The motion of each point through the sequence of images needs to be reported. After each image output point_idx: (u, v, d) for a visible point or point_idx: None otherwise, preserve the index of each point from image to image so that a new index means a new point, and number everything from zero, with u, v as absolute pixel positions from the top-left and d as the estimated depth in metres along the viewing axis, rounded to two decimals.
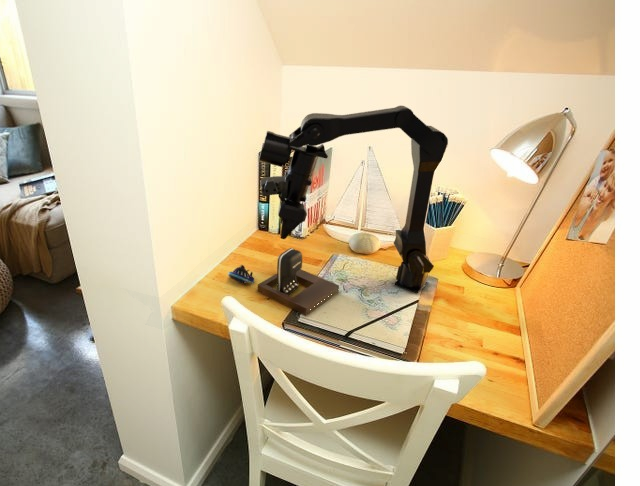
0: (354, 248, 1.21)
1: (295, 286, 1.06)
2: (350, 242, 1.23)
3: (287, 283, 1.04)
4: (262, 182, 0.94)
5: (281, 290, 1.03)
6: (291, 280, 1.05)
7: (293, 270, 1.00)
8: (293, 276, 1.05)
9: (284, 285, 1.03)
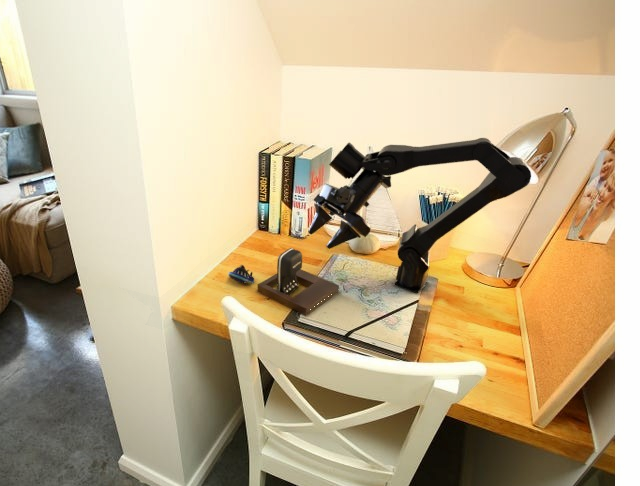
0: (354, 248, 1.21)
1: (295, 286, 1.06)
2: (350, 242, 1.23)
3: (287, 283, 1.04)
4: (333, 187, 0.93)
5: (281, 290, 1.03)
6: (291, 280, 1.05)
7: (293, 270, 1.00)
8: (293, 276, 1.05)
9: (284, 285, 1.03)
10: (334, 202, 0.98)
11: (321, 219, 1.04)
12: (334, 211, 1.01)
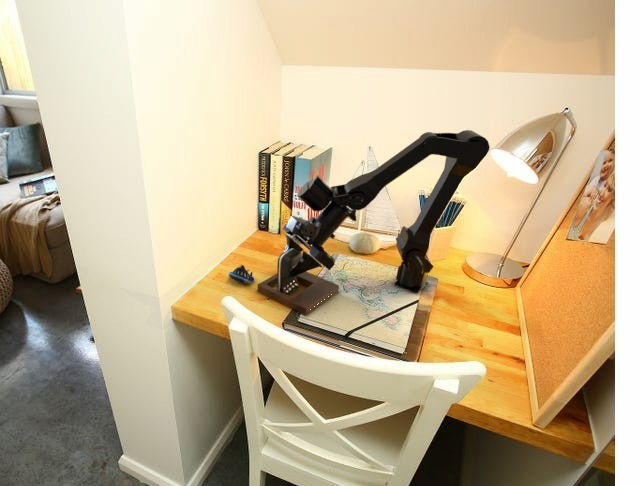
0: (354, 248, 1.21)
1: (295, 286, 1.06)
2: (350, 242, 1.23)
3: (287, 283, 1.04)
4: (298, 220, 0.94)
5: (281, 290, 1.03)
6: (291, 280, 1.05)
7: None
8: None
9: (284, 285, 1.03)
10: None
11: None
12: (301, 241, 1.02)
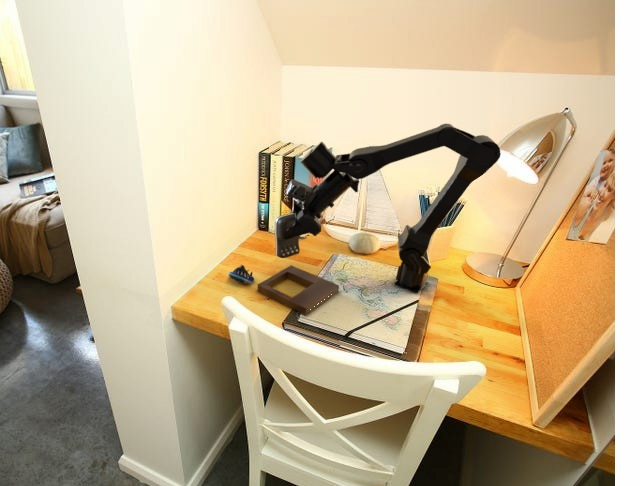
0: (354, 248, 1.21)
1: (295, 252, 1.08)
2: (350, 242, 1.23)
3: (286, 247, 1.07)
4: (293, 183, 0.97)
5: (278, 252, 1.07)
6: (291, 245, 1.08)
7: None
8: (294, 241, 1.08)
9: (281, 248, 1.07)
10: None
11: None
12: None
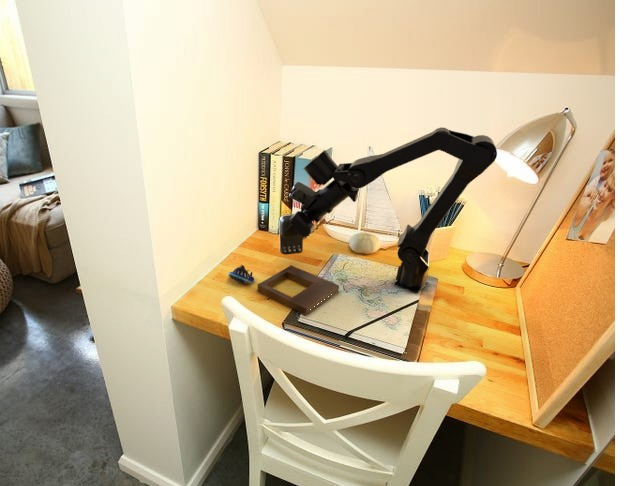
0: (354, 248, 1.21)
1: (297, 251, 1.15)
2: (350, 242, 1.23)
3: (288, 244, 1.14)
4: (295, 186, 1.04)
5: (280, 248, 1.15)
6: (295, 244, 1.15)
7: None
8: (298, 241, 1.14)
9: (284, 244, 1.14)
10: None
11: None
12: None
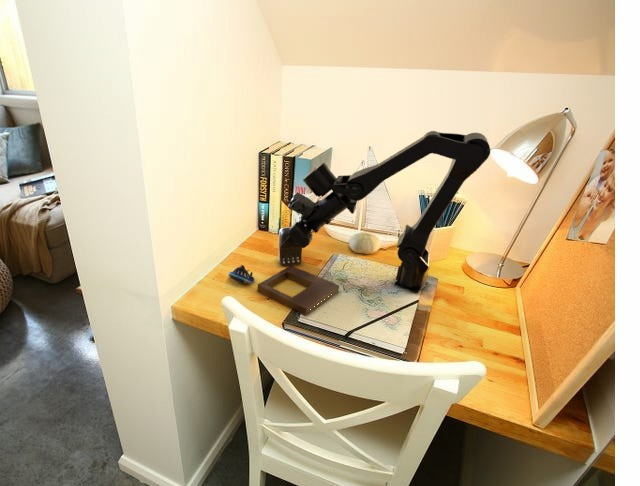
0: (354, 248, 1.21)
1: (296, 262, 1.17)
2: (350, 242, 1.23)
3: (288, 256, 1.16)
4: (294, 197, 1.05)
5: (279, 259, 1.17)
6: (294, 255, 1.17)
7: None
8: (297, 253, 1.16)
9: (283, 256, 1.16)
10: None
11: None
12: None
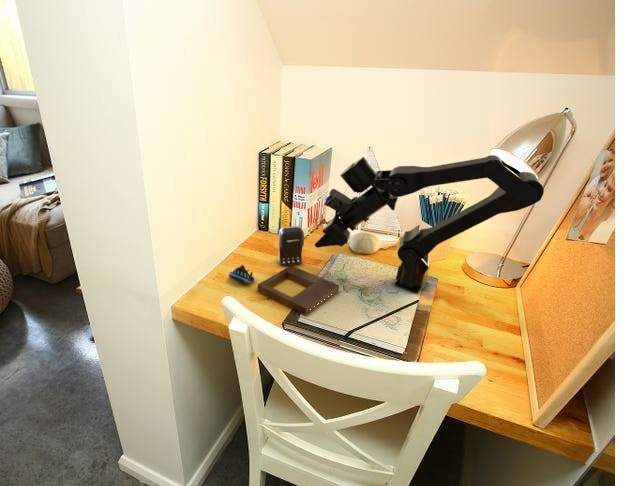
0: (354, 248, 1.21)
1: (296, 262, 1.17)
2: (350, 242, 1.23)
3: (288, 256, 1.16)
4: (331, 193, 1.01)
5: (279, 259, 1.17)
6: (294, 255, 1.17)
7: (287, 244, 1.12)
8: (297, 253, 1.16)
9: (283, 256, 1.16)
10: None
11: None
12: None
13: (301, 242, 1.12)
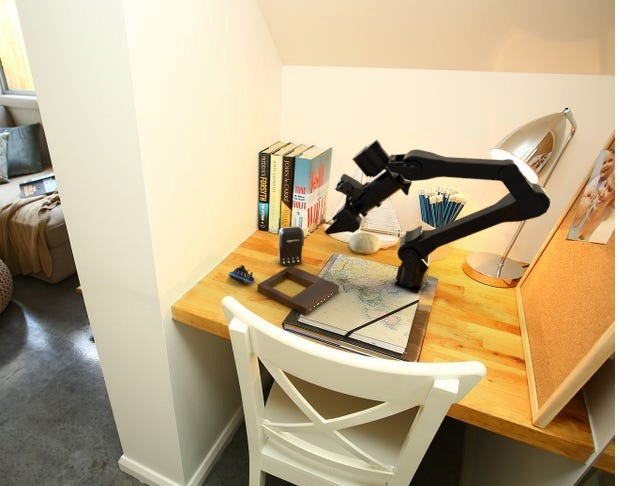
0: (354, 248, 1.21)
1: (296, 262, 1.17)
2: (350, 242, 1.23)
3: (288, 256, 1.16)
4: (342, 178, 0.98)
5: (279, 259, 1.17)
6: (294, 255, 1.17)
7: (287, 244, 1.12)
8: (297, 253, 1.16)
9: (283, 256, 1.16)
10: None
11: None
12: None
13: (301, 242, 1.12)
